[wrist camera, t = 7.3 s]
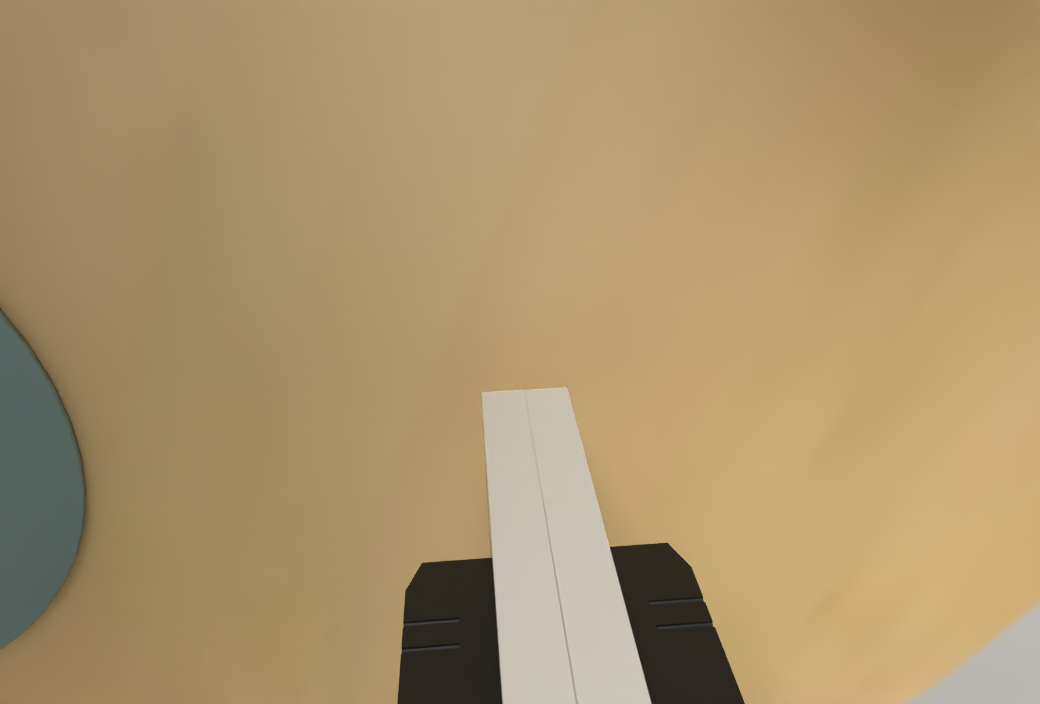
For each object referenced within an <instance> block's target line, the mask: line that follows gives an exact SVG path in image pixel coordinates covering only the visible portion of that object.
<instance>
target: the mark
mask: <svg viewBox="0 0 1040 704" xmlns="http://www.w3.org/2000/svg"><path fill="white" fill-rule="evenodd" d="M85 493H86V492H85V484H84V476H83V468H82V460H81V455H80V452H79V449H78V445H77V442H76V438H75V435H74V431H73V428H72V425H71V421H70V419H69V417H68V415H67V413H66V410H65V408H64V406H63V404H62V402H61V399H60V397H59V395H58V393H57V391H56V389H55V386H54V384H53V383H52V381H51V379H50V378H49V376H48V375H47V373H46V371H45V370H44V368H43V367H42V365H41V363H40V362H39V360H38V358H37V357H36V355H35V354H34V352H33V350H32V349H31V347H30V346H29V344H28V343H27V342H26V341H25V339H24V338H23V337H22V336H21V334H20V333H19V332H18V331H17V329H16V328H15V327H14V326H13V324H12V323H11V322H10V321H9V319H8V318H7V317H6V316H5V314H4V313H3V312H2V311H1V309H0V649H1V648H2V647H3V646H5V645H6V644H8V643H9V642H10V641H12V640H13V639H14V638H16V637H17V636H19V635H20V634H21V633H23V632H24V631H25V630H26V629H27V628H28V627H29V626H30V625H31V624H32V623H33V622H34V621H35V620H36V619H37V618H38V617H39V616H40V615H41V614H42V613H43V612H44V610H45V609H46V608H47V606H48V605H49V603H50V602H51V600H52V599H53V598H54V596H55V595H56V593H57V592H58V590H59V589H60V588H61V586H62V584H63V583H64V581H65V579H66V577H67V575H68V572H69V570H70V568H71V566H72V563H73V561H74V559H75V557H76V555H77V551H78V547H79V543H80V539H81V534H82V530H83V526H84V513H85Z"/></svg>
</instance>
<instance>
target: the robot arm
mask: <svg viewBox="0 0 1040 704" xmlns="http://www.w3.org/2000/svg"><path fill="white" fill-rule="evenodd" d="M481 393H482V412H483V430H484V449H485V468H486V486H487V505H488V522H489V538H490V553H491V558H483V559H469V560H455V561H441V562H427V563H422V564H421V566H420V568H419V569H418V571H417V573H416V574H415V576H414V578H413V579H412V581H411V583H410V584H409V586H408V588H407V589H406V593H405V607H404V621H403V623H404V628H403V635H402V654H401V663H400V677H399V691H398V704H745V703H744V700H743V698H742V695H741V693H740V690H739V688H738V685H737V683H736V680H735V677H734V675H733V672H732V670H731V667H730V665H729V662H728V660H727V657H726V654H725V652H724V649H723V647H722V644H721V642H720V639H719V637H718V634H717V631H716V629H715V627H713V624H712V619H711V616H710V614H709V611H708V608H707V606H706V603H705V602H703V596H702V593H701V590H700V588H699V585H698V583H697V580H696V578H695V575H694V573H693V570H692V567H691V566H690V565H689V564H688V563H687V562H686V561H685V560H684V559H683V558H682V557H681V556H680V555H679V554H678V553H677V552H676V551H675V550H674V549H673V548H672V547H671V546H670V545H669V544H668V543H658V544H645V545H631V546H617V547H610V546H609V543H608V539H607V535H606V531H605V528H604V524H603V520H602V516H601V513H600V509H599V505H598V501H597V498H596V494H595V490H594V486H593V483H592V479H591V475H590V471H589V468H588V464H587V460H586V456H585V453H584V449H583V445H582V441H581V438H580V434H579V430H578V426H577V423H576V419H575V415H574V411H573V408H572V404H571V400H570V396H569V393H568V389H567V387H559V388H542V389H526V390H509V391H492V392H481Z"/></svg>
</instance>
